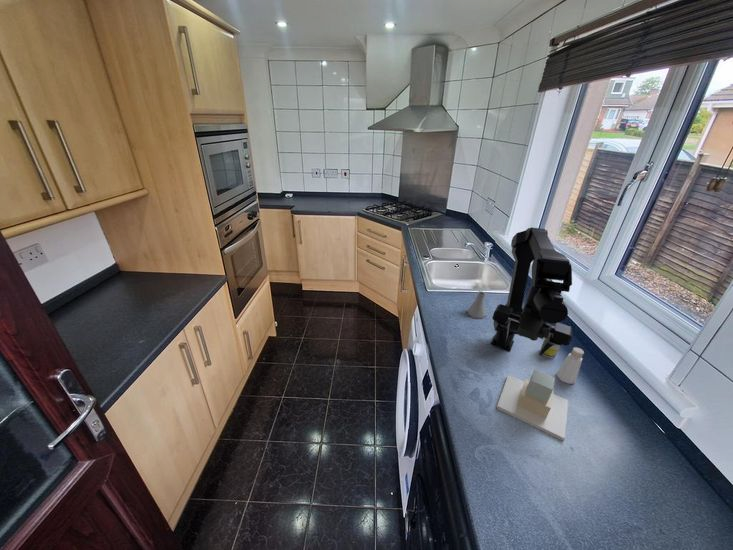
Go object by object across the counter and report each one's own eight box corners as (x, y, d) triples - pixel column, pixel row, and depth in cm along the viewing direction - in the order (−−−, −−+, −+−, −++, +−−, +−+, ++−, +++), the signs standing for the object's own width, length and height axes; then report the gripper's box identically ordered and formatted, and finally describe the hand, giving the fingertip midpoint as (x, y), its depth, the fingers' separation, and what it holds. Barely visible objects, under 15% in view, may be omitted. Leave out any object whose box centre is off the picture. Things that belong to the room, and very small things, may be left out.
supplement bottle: (540, 347, 105) (547, 327, 102) (555, 352, 103) (563, 332, 99) (539, 355, 102) (547, 335, 98) (555, 360, 100) (563, 340, 96)
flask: (489, 317, 121) (495, 296, 116) (474, 320, 118) (480, 299, 114) (477, 308, 127) (482, 287, 122) (463, 310, 124) (468, 290, 120)
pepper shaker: (573, 373, 94) (586, 346, 89) (578, 386, 90) (592, 358, 85) (554, 369, 96) (566, 342, 91) (557, 381, 91) (570, 353, 86)
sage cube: (528, 382, 84) (534, 369, 81) (549, 391, 81) (555, 377, 79) (525, 394, 80) (531, 380, 78) (546, 403, 77) (553, 389, 75)
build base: (507, 377, 92) (511, 364, 90) (567, 402, 84) (573, 390, 82) (496, 408, 82) (500, 395, 79) (563, 441, 74) (570, 427, 71)
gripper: (494, 302, 76) (481, 349, 83) (579, 329, 67) (556, 380, 74) (503, 285, 85) (491, 329, 92) (581, 308, 75) (560, 355, 83)
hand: (522, 347), depth 85 cm, fingers open, 9 cm apart
